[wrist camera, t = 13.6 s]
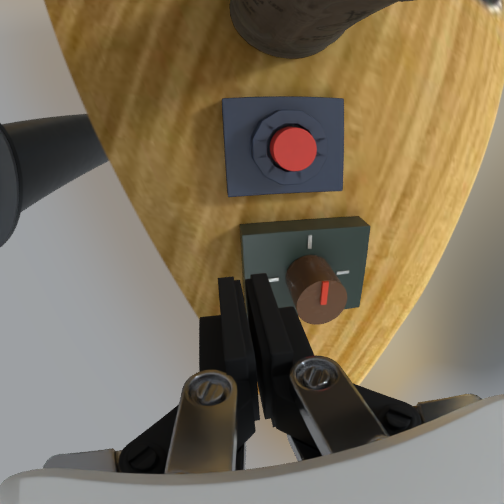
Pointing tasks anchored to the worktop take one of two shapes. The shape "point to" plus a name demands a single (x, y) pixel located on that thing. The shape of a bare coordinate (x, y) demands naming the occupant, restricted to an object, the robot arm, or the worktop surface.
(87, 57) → the worktop surface
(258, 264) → the panel
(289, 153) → the button
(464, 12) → the worktop surface
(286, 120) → the button box
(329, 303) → the knob
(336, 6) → the beer stein
